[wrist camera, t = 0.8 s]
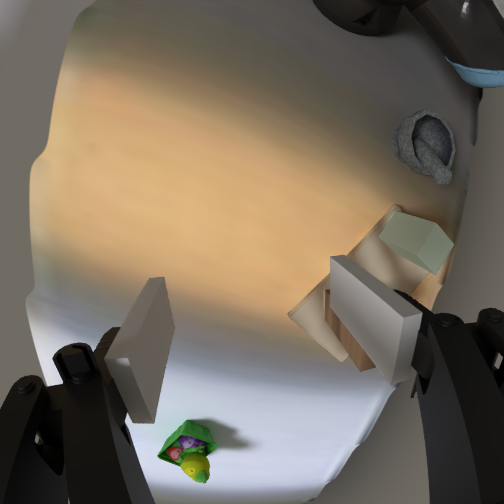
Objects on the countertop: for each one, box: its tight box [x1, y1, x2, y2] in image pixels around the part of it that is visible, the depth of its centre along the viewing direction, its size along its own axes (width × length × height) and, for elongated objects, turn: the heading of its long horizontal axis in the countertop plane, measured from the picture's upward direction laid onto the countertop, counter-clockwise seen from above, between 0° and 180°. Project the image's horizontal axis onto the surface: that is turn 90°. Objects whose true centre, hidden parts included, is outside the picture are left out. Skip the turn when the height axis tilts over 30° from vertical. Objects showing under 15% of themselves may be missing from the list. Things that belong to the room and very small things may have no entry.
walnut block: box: [324, 288, 376, 372], centre depth 37 cm, size 5×5×14 cm
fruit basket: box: [157, 420, 217, 483], centre depth 45 cm, size 11×9×11 cm
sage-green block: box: [378, 211, 454, 275], centre depth 37 cm, size 5×5×10 cm
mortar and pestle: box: [391, 110, 456, 186], centre depth 34 cm, size 11×9×12 cm
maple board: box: [288, 205, 430, 362], centre depth 45 cm, size 24×14×2 cm, turn 135°
